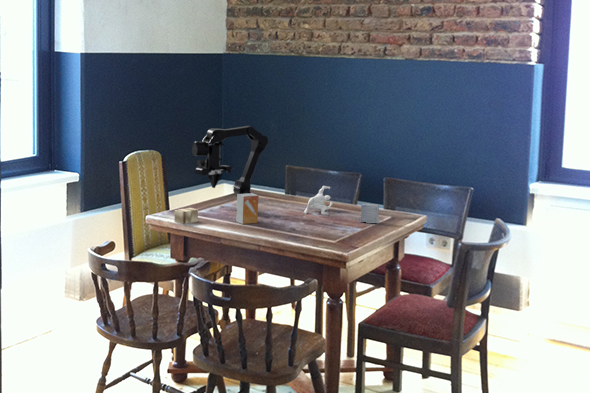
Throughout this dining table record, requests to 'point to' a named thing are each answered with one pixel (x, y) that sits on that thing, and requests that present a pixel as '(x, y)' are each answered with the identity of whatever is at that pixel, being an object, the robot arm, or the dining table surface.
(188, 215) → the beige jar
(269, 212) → the dining table surface
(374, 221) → the medicine box
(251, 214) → the small box
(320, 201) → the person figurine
